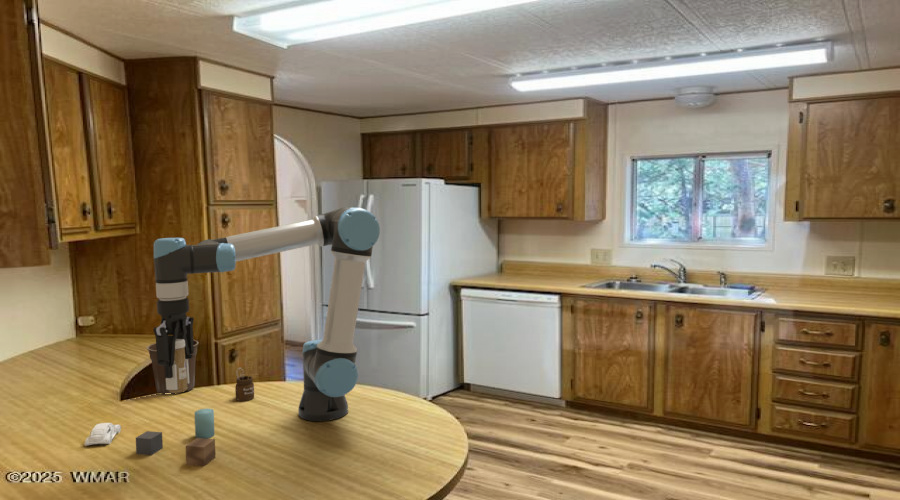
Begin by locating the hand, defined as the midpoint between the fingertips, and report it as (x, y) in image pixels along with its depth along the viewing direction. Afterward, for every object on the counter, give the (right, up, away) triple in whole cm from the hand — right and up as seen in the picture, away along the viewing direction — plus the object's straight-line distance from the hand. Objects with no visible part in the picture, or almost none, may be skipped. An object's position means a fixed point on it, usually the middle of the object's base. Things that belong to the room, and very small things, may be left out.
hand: (178, 386), depth 157 cm
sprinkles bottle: (0, -1, 0) cm, 1 cm away
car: (-26, -18, +11) cm, 33 cm away
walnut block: (+7, -19, -3) cm, 20 cm away
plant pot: (-25, -14, +53) cm, 61 cm away
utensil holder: (+3, -14, +44) cm, 47 cm away
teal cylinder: (+2, -17, +13) cm, 22 cm away
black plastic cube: (-9, -18, +3) cm, 20 cm away
